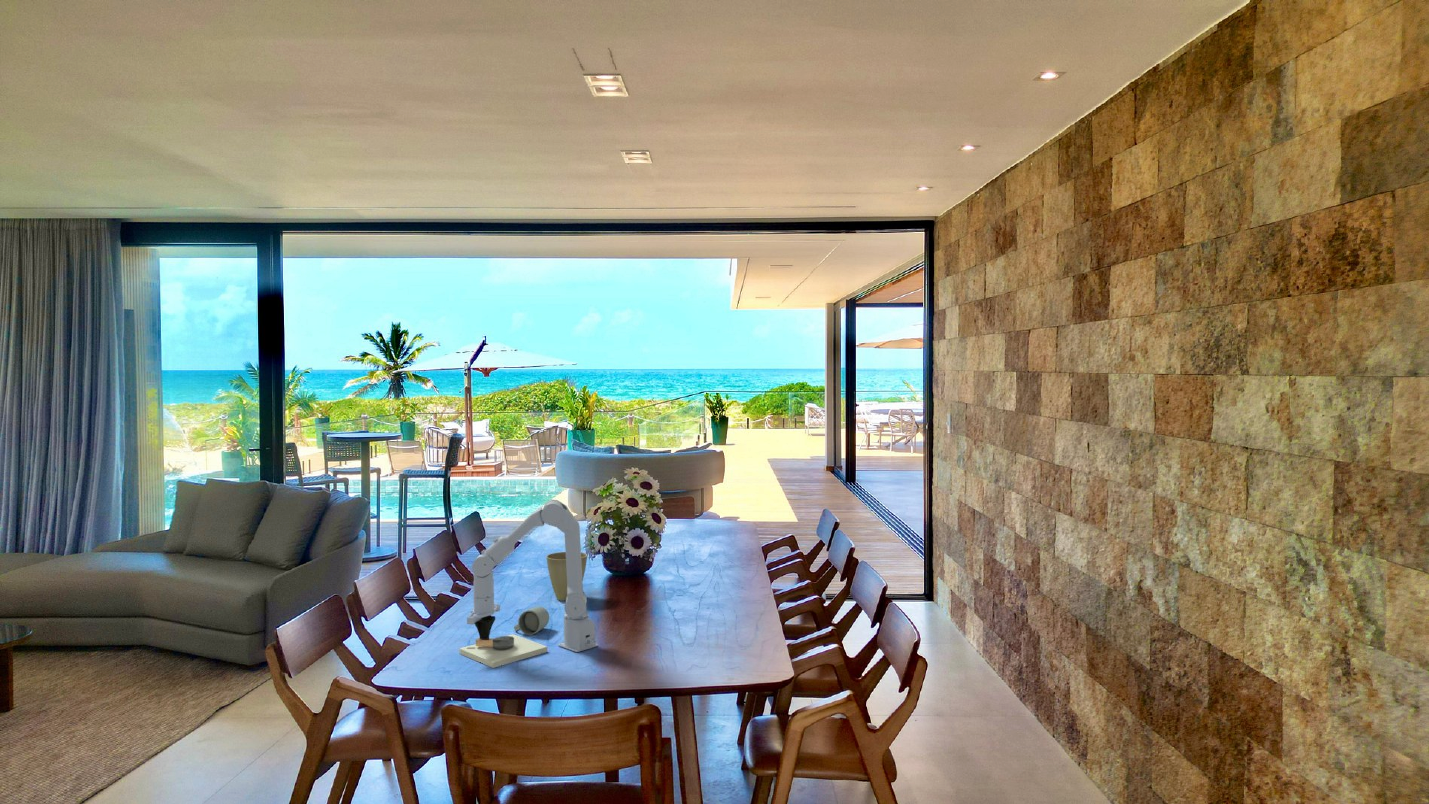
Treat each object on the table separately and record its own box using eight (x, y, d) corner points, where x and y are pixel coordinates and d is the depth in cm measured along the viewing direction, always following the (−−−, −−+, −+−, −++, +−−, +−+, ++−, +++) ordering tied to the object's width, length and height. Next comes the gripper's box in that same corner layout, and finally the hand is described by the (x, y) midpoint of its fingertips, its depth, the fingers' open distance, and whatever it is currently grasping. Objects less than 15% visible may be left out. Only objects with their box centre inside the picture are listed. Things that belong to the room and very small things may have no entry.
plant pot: (583, 603, 279) (583, 559, 278) (542, 603, 279) (541, 559, 279) (591, 593, 294) (590, 551, 293) (551, 593, 294) (551, 551, 294)
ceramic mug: (551, 628, 250) (550, 604, 250) (540, 635, 242) (539, 611, 242) (521, 626, 252) (520, 603, 252) (509, 634, 244) (508, 610, 244)
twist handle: (516, 643, 229) (516, 636, 229) (509, 649, 223) (509, 642, 223) (480, 642, 230) (480, 635, 230) (472, 648, 224) (472, 642, 224)
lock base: (547, 651, 227) (547, 646, 227) (493, 668, 214) (492, 662, 214) (512, 638, 239) (512, 633, 239) (459, 653, 226) (459, 648, 226)
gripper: (485, 588, 236) (485, 633, 236) (457, 601, 222) (458, 648, 222) (506, 590, 234) (506, 635, 235) (479, 603, 220) (479, 650, 221)
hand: (484, 641), depth 228 cm, fingers closed, pressing on twist handle
